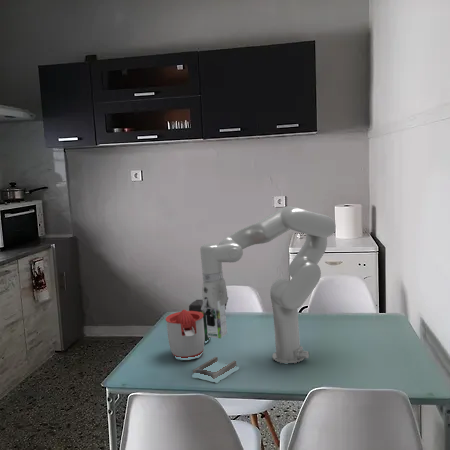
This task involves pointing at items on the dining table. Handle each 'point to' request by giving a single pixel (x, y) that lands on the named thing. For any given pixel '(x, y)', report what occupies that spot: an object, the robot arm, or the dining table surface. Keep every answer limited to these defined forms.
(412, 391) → the dining table surface
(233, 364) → the rail board
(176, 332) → the citrus juicer
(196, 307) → the coffee jar
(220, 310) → the syrup box
